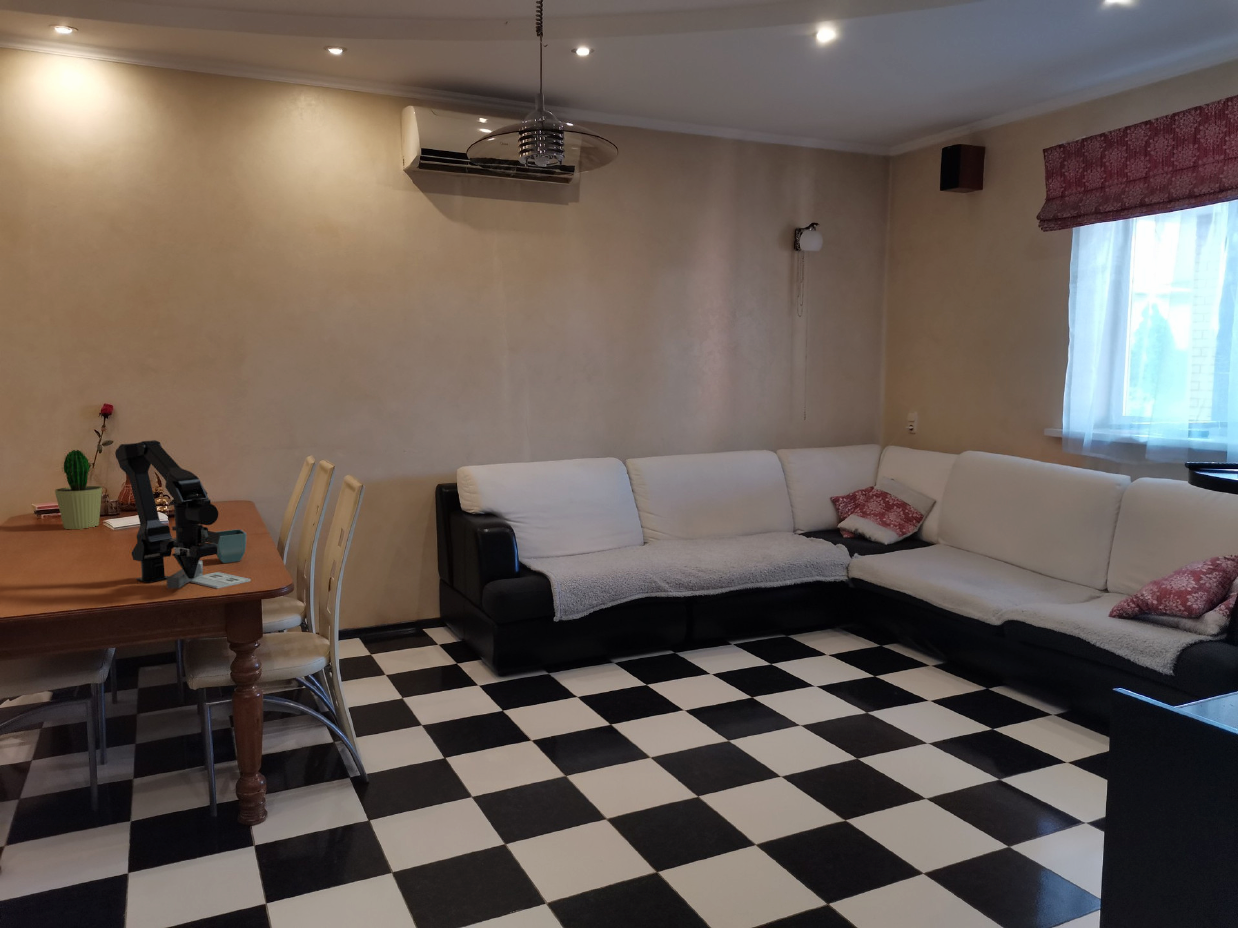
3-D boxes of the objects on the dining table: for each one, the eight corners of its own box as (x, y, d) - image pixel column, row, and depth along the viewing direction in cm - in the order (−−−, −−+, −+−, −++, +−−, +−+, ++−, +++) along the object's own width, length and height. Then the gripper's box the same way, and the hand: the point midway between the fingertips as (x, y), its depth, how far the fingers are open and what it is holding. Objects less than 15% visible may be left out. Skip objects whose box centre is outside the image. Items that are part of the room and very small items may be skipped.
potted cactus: (113, 525, 338) (107, 447, 335) (70, 532, 325) (64, 450, 322) (91, 522, 346) (86, 445, 343) (49, 528, 333) (43, 449, 330)
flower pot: (217, 565, 269) (216, 536, 268) (211, 560, 276) (209, 532, 275) (248, 561, 274) (246, 533, 273) (241, 556, 281) (239, 529, 280)
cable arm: (193, 571, 256) (193, 560, 255) (204, 570, 256) (203, 560, 256) (167, 588, 236) (166, 576, 236) (179, 588, 236) (178, 576, 236)
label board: (178, 579, 251) (178, 576, 251) (211, 572, 259) (211, 569, 259) (217, 588, 240) (217, 585, 240) (250, 581, 249) (250, 577, 249)
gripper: (234, 520, 241) (238, 576, 243) (195, 514, 251) (199, 568, 253) (195, 527, 232) (199, 585, 234) (157, 520, 242) (161, 576, 244)
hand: (191, 578), depth 241 cm, fingers closed
